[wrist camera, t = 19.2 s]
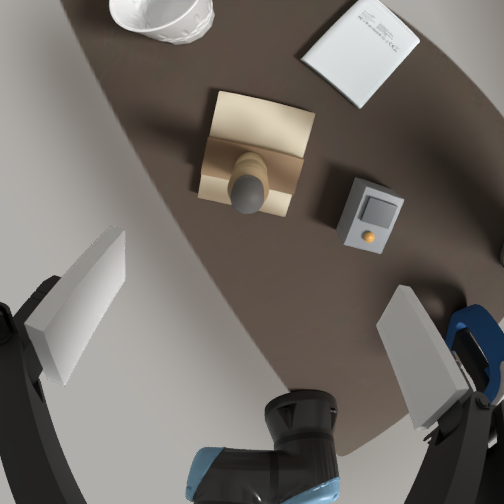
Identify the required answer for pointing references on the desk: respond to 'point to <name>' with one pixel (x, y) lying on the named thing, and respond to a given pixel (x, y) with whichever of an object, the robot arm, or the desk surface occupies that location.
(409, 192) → the desk surface
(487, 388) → the handheld scanner
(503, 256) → the thermos
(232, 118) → the panel
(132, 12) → the white cup
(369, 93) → the external hard drive
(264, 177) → the peg
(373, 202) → the box
